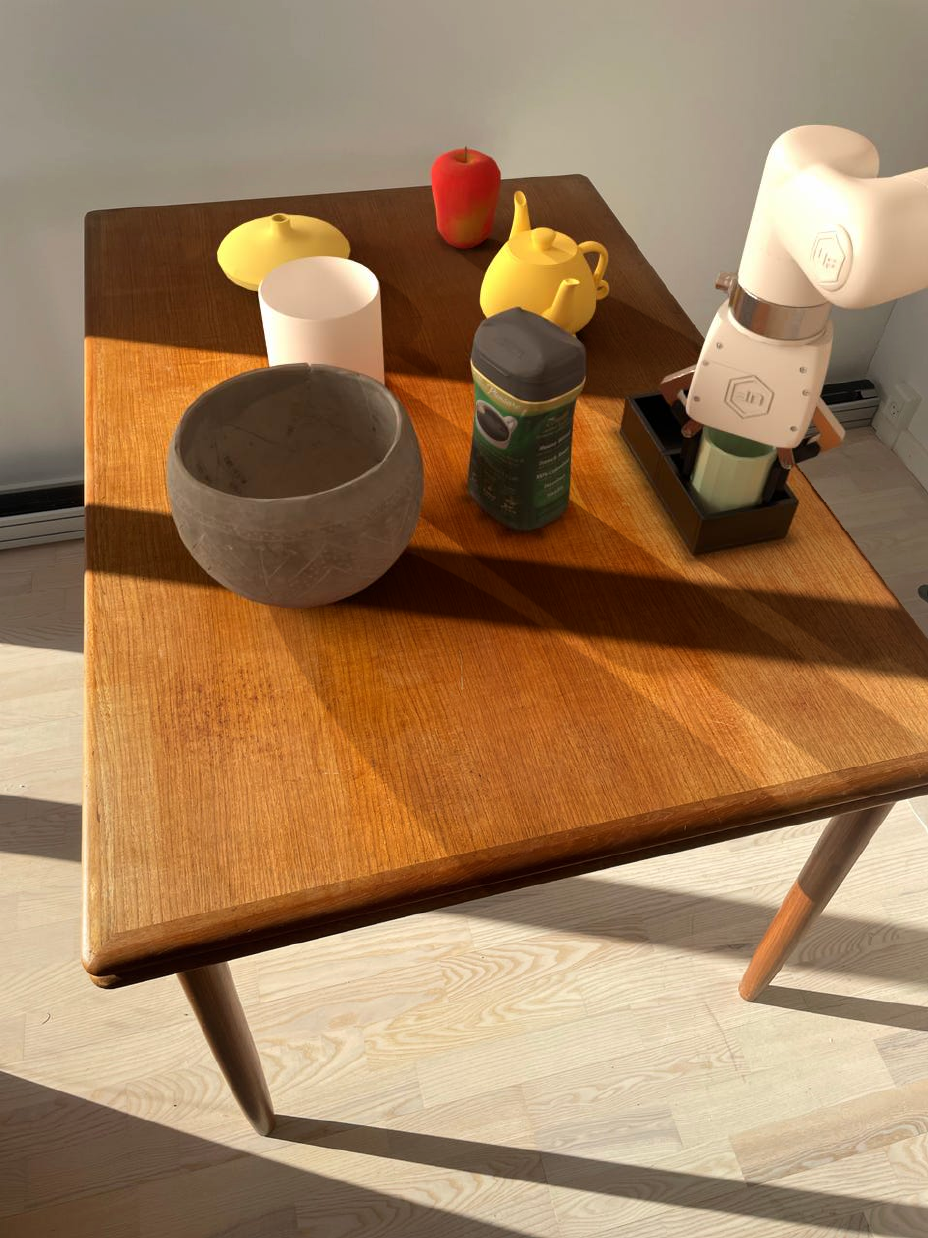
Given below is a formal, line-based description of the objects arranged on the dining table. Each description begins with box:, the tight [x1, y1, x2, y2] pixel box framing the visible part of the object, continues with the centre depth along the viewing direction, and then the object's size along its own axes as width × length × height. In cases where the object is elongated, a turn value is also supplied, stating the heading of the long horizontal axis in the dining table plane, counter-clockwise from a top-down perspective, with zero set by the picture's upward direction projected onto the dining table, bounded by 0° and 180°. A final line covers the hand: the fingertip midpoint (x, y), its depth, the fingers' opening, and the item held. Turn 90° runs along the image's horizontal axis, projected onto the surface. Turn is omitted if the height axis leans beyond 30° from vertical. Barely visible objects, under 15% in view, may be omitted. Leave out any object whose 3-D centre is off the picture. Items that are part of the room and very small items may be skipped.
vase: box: [216, 212, 351, 293], centre depth 115 cm, size 16×16×7 cm
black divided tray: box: [619, 386, 800, 557], centre depth 93 cm, size 18×9×5 cm, turn 16°
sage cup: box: [688, 425, 778, 514], centre depth 87 cm, size 7×7×8 cm
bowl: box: [166, 363, 425, 609], centre depth 81 cm, size 21×21×15 cm
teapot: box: [479, 190, 610, 339], centre depth 107 cm, size 20×15×12 cm
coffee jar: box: [467, 307, 587, 532], centre depth 85 cm, size 10×8×19 cm
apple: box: [430, 145, 502, 250], centre depth 119 cm, size 9×8×12 cm
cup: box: [258, 256, 386, 387], centre depth 98 cm, size 12×12×12 cm
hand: (730, 477), depth 88 cm, fingers closed on sage cup, 6 cm apart
